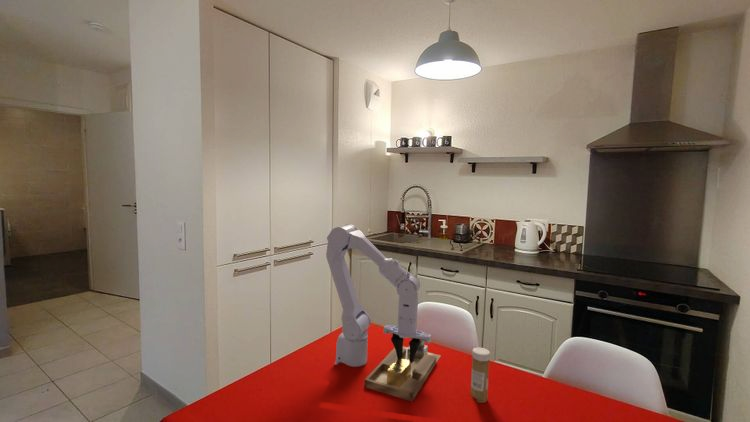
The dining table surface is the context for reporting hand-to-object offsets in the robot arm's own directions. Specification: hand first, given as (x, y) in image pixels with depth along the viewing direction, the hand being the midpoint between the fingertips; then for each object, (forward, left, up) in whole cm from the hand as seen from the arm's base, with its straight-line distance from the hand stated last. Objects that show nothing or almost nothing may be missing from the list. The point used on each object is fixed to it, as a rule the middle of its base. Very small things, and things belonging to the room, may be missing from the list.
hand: (405, 360), depth 107 cm
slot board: (0, +1, -4) cm, 4 cm away
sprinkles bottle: (+22, -2, -4) cm, 23 cm away
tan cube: (0, -3, -3) cm, 5 cm away
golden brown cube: (0, -7, -3) cm, 8 cm away
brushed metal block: (0, +12, -3) cm, 13 cm away
